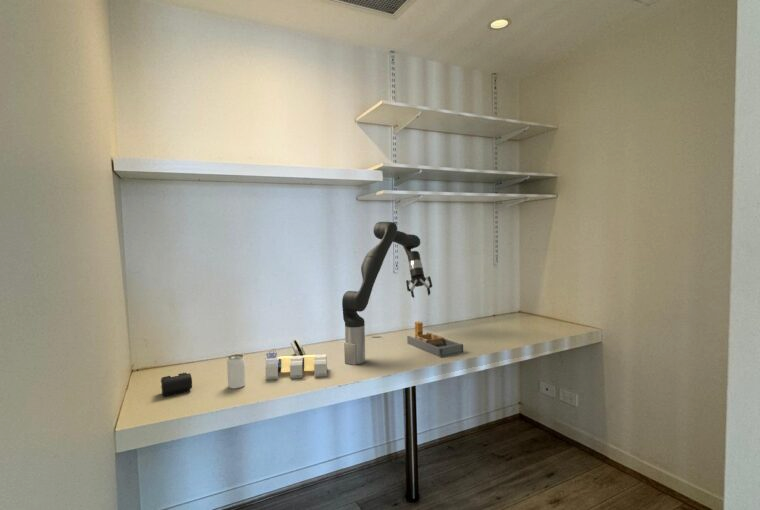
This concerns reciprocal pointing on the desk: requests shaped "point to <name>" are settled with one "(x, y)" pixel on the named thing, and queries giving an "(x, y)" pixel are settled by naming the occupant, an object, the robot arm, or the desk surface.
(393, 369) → the desk surface
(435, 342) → the crate
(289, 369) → the diorama
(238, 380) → the can
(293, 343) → the hinge
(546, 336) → the desk surface
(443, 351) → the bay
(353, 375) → the desk surface
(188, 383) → the end cap
